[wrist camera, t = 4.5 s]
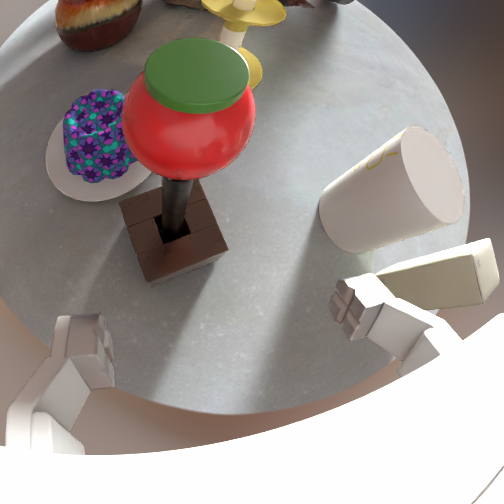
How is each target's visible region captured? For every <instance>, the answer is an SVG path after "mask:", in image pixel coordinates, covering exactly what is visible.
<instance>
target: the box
mask: <svg viewBox="0 0 504 504" xmlns="http://www.w3.org/2000/svg"><path fill="white" fill-rule="evenodd" d="M375 276H376V277H377V278H378V279H379V280H380V281H381V282H382V284H383V285H384V286H385V287H386V288H387V289H388V290H389V291H390V292H391V293H392V294H393V296H394V297H395V298H396V299H398V298H400V299H402V300H404V301H406V302H408V303H410V304H412V305H414V306H416V307H418V308H420V309H422V310H434V309H444V308H454V307H464V306H473V305H480V304H484V303H485V302H486V300H487V299H488V298H489V297H490V296H491V294H492V293H493V292H494V290H495V289H496V288H497V286H498V285H499V283H500V280H499V274H498V269H497V265H496V260H495V256H494V251H493V247H492V244H491V241H490V239H489V238H487V239H484V240H480V241H477V242H473V243H470V244H466V245H463V246H459V247H456V248H452V249H449V250H445V251H441V252H438V253H434V254H431V255H427V256H423V257H420V258H416V259H412V260H408V261H405V262H401V263H397V264H394V265H392V266H390V267H388V268H386V269H384V270H382V271H380V272H378V273H376V274H375Z"/></svg>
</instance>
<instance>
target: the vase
mask: <svg viewBox="0 0 504 504" xmlns="http://www.w3.org/2000/svg"><path fill="white" fill-rule="evenodd" d="M141 6H142V0H59V1H58V3H57V6H56V9H55V16H54V18H55V27H56V30H57V32H58V34H59V36H60V38H61V39H62V41H63V42H64V43H65V44H66V45H67V46H69V47H71V48H72V49H75V50H78V51H95V50H100V49H103V48H107V47H109V46H111V45H113V44H115V43H117V42H118V41H120V40H121V39H123V38H124V37H125V36H126V35H127V34H128V33H129V32H130V31H131V30H132V28H133V27H134V25H135V23H136V21H137V19H138V17H139V14H140V11H141Z"/></svg>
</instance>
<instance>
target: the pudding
mask: <svg viewBox="0 0 504 504" xmlns="http://www.w3.org/2000/svg"><path fill="white" fill-rule="evenodd" d="M126 95H127V94H121V93H120V92H119V91H117V90H108V91H105V90H103V89H96V90H93V91H91V92H90V93H89V94H88V95H86V96H81V97H79V98H78V99H76V100H75V101H74V103H73V104H72V108H71V109H70V110H69V111H68V112H66V114H65V116H64V117H63V118H62V119H61V120H60V122H59V123H58V124H57V126H56V127H55V128H54V130H53V132H52V134H51V136H50V138H49V141H48V144H47V148H46V154H45V162H46V169H47V173H48V175H49V177H50V179H51V181H52V183H53V184H54V185H55V187H56V188H57V189H58V190H59V191H61V192H62V193H63V194H65V195H67V196H69V197H71V198H73V199H77V200H81V201H91V202H96V201H104V200H109V199H112V198H115V197H118V196H121V195H123V194H125V193H127V192H129V191H131V190H132V189H134V188H135V187H137V186H138V185H140V184H141V183H142V182H143V181H144V180H145V179H146V178H147V177H148V176H149V175H150V174H151V173H152V171H150V170H149V169H147V168H146V167H144V166H143V165H142V164H141V163H140V162H139V161H138V160H137V159H136V158H135V157H134V155H133V154H132V153H131V151H130V149H129V148H128V146H127V144H126V141H125V138H124V135H123V131H122V120H121V114H122V108H123V103H124V100H125V97H126Z"/></svg>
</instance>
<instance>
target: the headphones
mask: <svg viewBox="0 0 504 504" xmlns="http://www.w3.org/2000/svg"><path fill="white" fill-rule="evenodd" d="M329 1H331V2H336V3H339V4H343V5H345V4H349V3H351V2H353V1H354V0H329Z"/></svg>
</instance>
